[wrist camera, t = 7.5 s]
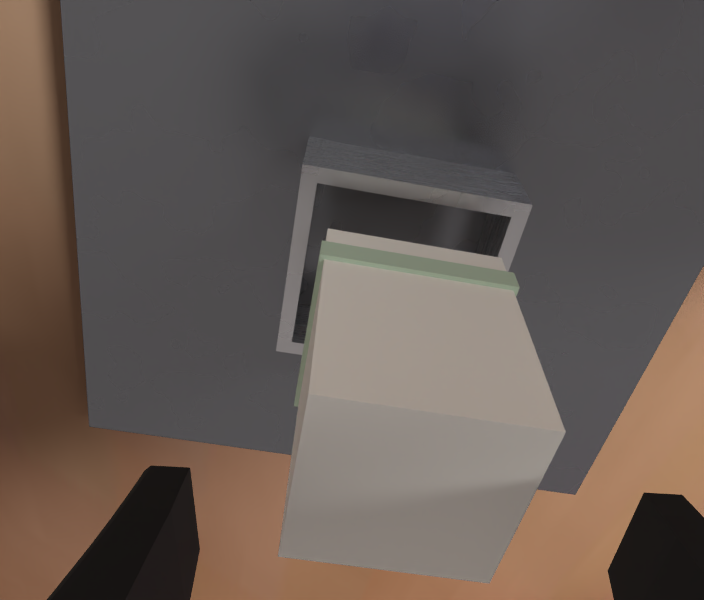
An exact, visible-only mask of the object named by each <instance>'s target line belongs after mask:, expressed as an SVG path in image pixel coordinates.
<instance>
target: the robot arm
mask: <svg viewBox="0 0 704 600" xmlns="http://www.w3.org/2000/svg"><path fill="white" fill-rule="evenodd" d="M199 550H200V548H199V539H198V531H197V522H196V514H195V506H194V497H193V489H192V481H191V472H190V468H184V467H166V466H150V467H149V468H148V469H146V470H145V471H144V472H143V474H142V475H141V477H140V478H139V480H138V481H137V483H136V484H135V486H134V487H133V488H132V490H131V491H130V493H129V494H128V496H127V497H126V498H125V500H124V501H123V503H122V504H121V505H120V507H119V508H118V509H117V511H116V512H115V514H114V515H113V516H112V518H111V519H110V520H109V522H108V523H107V524H106V526H105V527H104V528H103V530H102V531H101V532H100V534H99V535H98V536H97V538H96V539H95V540H94V542H93V543H92V544H91V545H90V547H89V548H88V549H87V551H86V552H85V553H84V554H83V556H82V557H81V558H80V559H79V560H78V562H77V563H76V564H75V565H74V567H73V568H72V569H71V570H70V572H69V573H68V574H67V575H66V577H65V578H64V579H63V580H62V582H61V583H60V584H59V585H58V587H57V588H56V589H55V590H54V592H53V593H52V594H51V595H50V596H49V598H48V599H47V600H190V597H191V592H192V587H193V582H194V577H195V571H196V566H197V561H198V555H199ZM608 574H609V579H610V583H611V588H612V593H613V597H614V600H704V517H703V516H702V515H701V514H700V513H699V512H698V511H697V510H696V509H695V508H694V507H693V506H692V505H691V504H690V503H689V502H688V501H687V500H686V498H685V497H684V496H683V495H675V494H657V493H644V494H643V496H642V498H641V500H640V502H639V504H638V507H637V509H636V511H635V513H634V515H633V517H632V520H631V522H630V524H629V526H628V528H627V530H626V533H625V535H624V537H623V539H622V541H621V543H620V545H619V548H618V550H617V552H616V554H615V556H614V558H613V561H612V563H611V565H610V567H609V569H608Z"/></svg>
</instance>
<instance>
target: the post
mask: <svg viewBox="0 0 704 600" xmlns="http://www.w3.org/2000/svg"><path fill="white" fill-rule="evenodd" d="M519 288H520V287H519V284H518V282H517V279H516V276H515V274H514V273H513V272H507V271H506V269H505V266H504V263H503V261H502V258H499V257H493V256H488V255H482V254H476V253H470V252H464V251H458V250H452V249H446V248H440V247H435V246H429V245H423V244H417V243H411V242H405V241H399V240H393V239H388V238H382V237H376V236H370V235H364V234H358V233H352V232H346V231H340V230H335V229H329V228H328V230H327V236H326V241H323V240H322V242H321V248H320V254H319V260H318V266H317V271H316V277H315V283H314V289H313V295H312V300H311V306H310V312H309V318H308V324H307V329H306V335H305V341H304V347H303V353H302V358H301V364H300V370H299V376H298V382H297V388H296V394H295V401H294V406H296V407H298V411H297V419H296V426H295V434H294V441H293V448H292V456H291V463H290V471H289V478H288V486H287V493H286V501H285V508H284V516H283V523H282V531H281V538H280V546H279V553H278V557H285V558H293V559H301V560H309V561H317V562H325V563H333V564H341V565H348V566H356V567H364V568H372V569H380V570H388V571H396V572H404V573H411V574H419V575H427V576H435V577H443V578H451V579H459V580H467V581H474V582H482V583H490V581H491V579H492V577H493V575H494V573H495V571H496V569H497V567H498V565H499V563H500V561H501V559H502V557H503V555H504V553H505V551H506V550H507V548H508V546H509V544H510V542H511V540H512V538H513V536H514V534H515V532H516V530H517V528H518V526H519V524H520V522H521V520H522V518H523V516H524V514H525V512H526V510H527V508H528V506H529V504H530V502H531V500H532V498H533V496H534V494H535V492H536V490H537V488H538V486H539V484H540V482H541V480H542V478H543V476H544V474H545V472H546V470H547V469H548V467H549V465H550V463H551V461H552V459H553V457H554V455H555V453H556V451H557V449H558V447H559V445H560V443H561V441H562V439H563V437H564V435H565V433H566V431H565V428H564V426H563V423H562V420H561V418H560V415H559V412H558V409H557V407H556V404H555V401H554V399H553V396H552V393H551V391H550V388H549V385H548V382H547V380H546V377H545V374H544V372H543V369H542V366H541V363H540V361H539V358H538V355H537V353H536V350H535V347H534V345H533V342H532V339H531V336H530V334H529V331H528V328H527V326H526V323H525V320H524V317H523V315H522V312H521V309H520V307H519V304H518V301H517V298H516V296H517V293H518V291H519Z"/></svg>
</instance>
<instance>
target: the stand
mask: <svg viewBox="0 0 704 600" xmlns="http://www.w3.org/2000/svg"><path fill="white" fill-rule="evenodd" d="M60 4H61V19H62V34H63V48H64V63H65V78H66V92H67V107H68V122H69V137H70V151H71V166H72V181H73V195H74V210H75V225H76V239H77V254H78V269H79V283H80V298H81V313H82V327H83V342H84V357H85V372H86V386H87V401H88V416H89V427H96V428H104V429H111V430H118V431H125V432H132V433H139V434H146V435H153V436H161V437H168V438H175V439H182V440H189V441H196V442H203V443H210V444H218V445H225V446H232V447H239V448H246V449H253V450H260V451H268V452H275V453H282V454H289V455H292V448H293V441H294V434H295V426H296V419H297V411H298V407H296V406H294V401H295V394H296V388H297V382H298V376H299V370H300V364H301V358H302V353H303V347H304V341H305V335H306V329H307V324H308V318H309V312H310V306H311V300H312V295H313V289H314V283H315V277H316V271H317V266H318V260H319V254H320V248H321V242H322V240H323V241H326V236H327V230H328V228H329V229H335V230H340V231H346V232H352V233H358V234H364V235H370V236H376V237H382V238H388V239H393V240H399V241H405V242H411V243H417V244H423V245H429V246H435V247H440V248H446V249H452V250H458V251H464V252H470V253H476V254H482V255H488V256H493V257H499V258H502V261H503V263H504V266H505V269H506V271H507V272H513V273H514V274H515V276H516V279H517V282H518V284H519V287H520V288H519V291H518V293H517V296H516V298H517V301H518V304H519V307H520V309H521V312H522V315H523V317H524V320H525V323H526V326H527V328H528V331H529V334H530V336H531V339H532V342H533V345H534V347H535V350H536V353H537V355H538V358H539V361H540V363H541V366H542V369H543V372H544V374H545V377H546V380H547V382H548V385H549V388H550V391H551V393H552V396H553V399H554V401H555V404H556V407H557V409H558V412H559V415H560V418H561V420H562V423H563V426H564V428H565V431H566V433H565V435H564V437H563V439H562V441H561V443H560V445H559V447H558V449H557V451H556V453H555V455H554V457H553V459H552V461H551V463H550V465H549V467H548V469H547V470H546V472H545V474H544V476H543V478H542V480H541V482H540V484H539V486H538V488H537V489H538V490H546V491H553V492H560V493H567V494H574V495H575V494H576V493H577V491H578V489H579V487H580V485H581V484H582V482H583V480H584V478H585V476H586V475H587V473H588V471H589V469H590V468H591V466H592V464H593V462H594V460H595V459H596V457H597V455H598V453H599V451H600V450H601V448H602V446H603V444H604V443H605V441H606V439H607V437H608V435H609V434H610V432H611V430H612V428H613V426H614V425H615V423H616V421H617V419H618V418H619V416H620V414H621V412H622V410H623V409H624V407H625V405H626V403H627V401H628V400H629V398H630V396H631V394H632V393H633V391H634V389H635V387H636V385H637V384H638V382H639V380H640V378H641V376H642V375H643V373H644V371H645V369H646V367H647V366H648V364H649V362H650V360H651V359H652V357H653V355H654V353H655V351H656V350H657V348H658V346H659V344H660V342H661V341H662V339H663V337H664V335H665V334H666V332H667V330H668V328H669V326H670V325H671V323H672V321H673V319H674V317H675V316H676V314H677V312H678V310H679V309H680V307H681V305H682V303H683V301H684V300H685V298H686V296H687V294H688V292H689V291H690V289H691V287H692V285H693V284H694V282H695V280H696V278H697V276H698V275H699V273H700V271H701V269H702V267H703V266H704V0H60Z"/></svg>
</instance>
